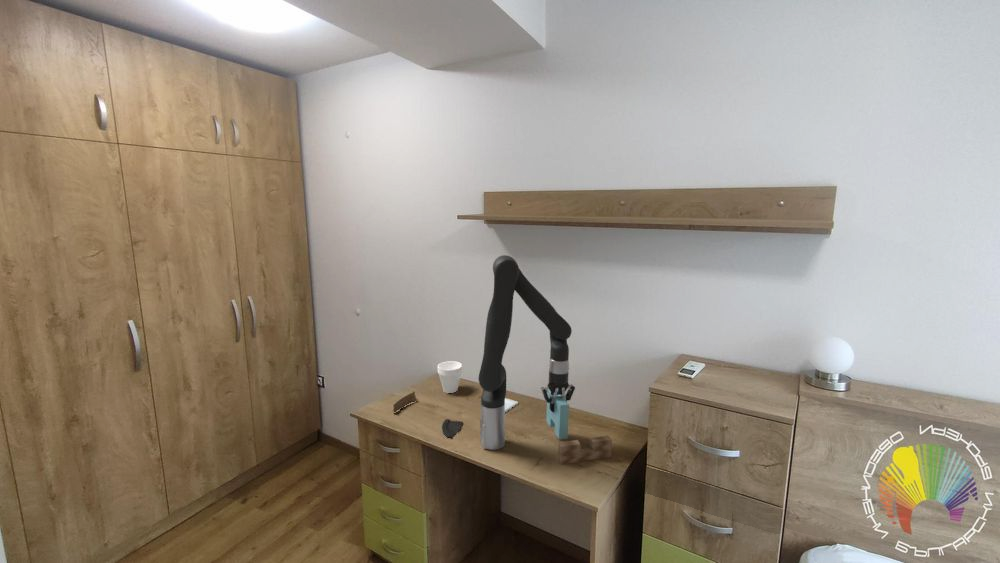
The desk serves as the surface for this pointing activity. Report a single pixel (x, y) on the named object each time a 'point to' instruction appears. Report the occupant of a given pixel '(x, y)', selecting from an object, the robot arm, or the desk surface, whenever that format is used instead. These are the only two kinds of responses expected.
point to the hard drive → (509, 404)
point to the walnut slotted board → (584, 450)
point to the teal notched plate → (558, 416)
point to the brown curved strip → (405, 401)
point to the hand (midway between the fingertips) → (557, 410)
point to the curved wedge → (451, 427)
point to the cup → (450, 375)
